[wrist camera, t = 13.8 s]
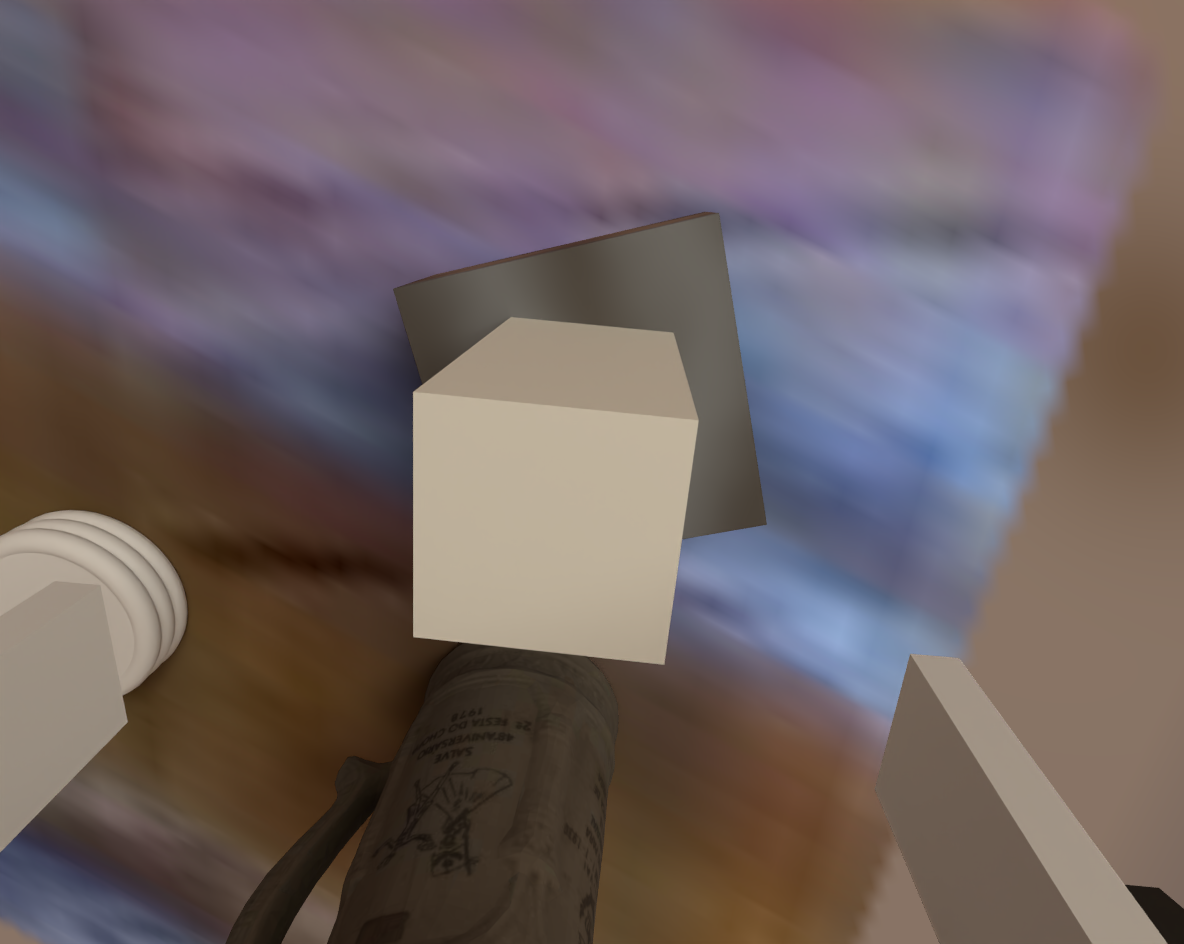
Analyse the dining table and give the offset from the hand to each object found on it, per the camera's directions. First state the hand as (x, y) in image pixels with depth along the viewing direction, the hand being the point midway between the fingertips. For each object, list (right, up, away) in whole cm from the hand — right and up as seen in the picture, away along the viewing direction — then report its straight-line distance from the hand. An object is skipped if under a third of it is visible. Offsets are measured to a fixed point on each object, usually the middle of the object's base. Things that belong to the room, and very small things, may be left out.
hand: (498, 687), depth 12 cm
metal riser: (+2, +8, +21) cm, 23 cm away
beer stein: (-5, -10, +28) cm, 30 cm away
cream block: (+1, +6, +15) cm, 17 cm away
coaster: (-25, -3, +27) cm, 37 cm away
